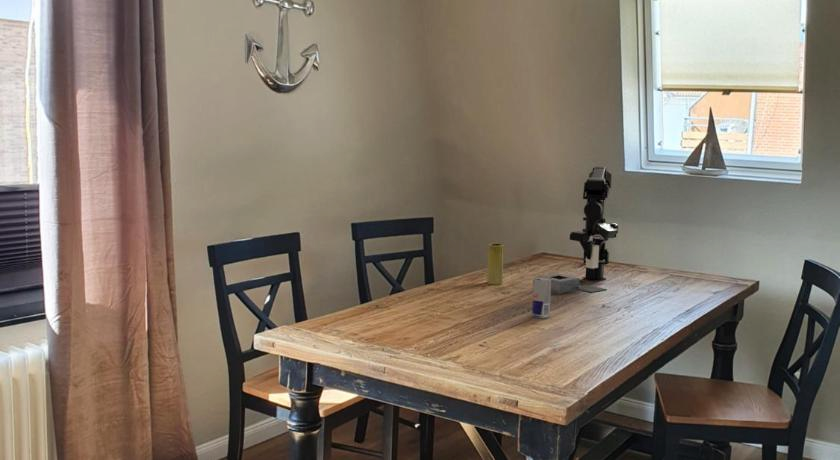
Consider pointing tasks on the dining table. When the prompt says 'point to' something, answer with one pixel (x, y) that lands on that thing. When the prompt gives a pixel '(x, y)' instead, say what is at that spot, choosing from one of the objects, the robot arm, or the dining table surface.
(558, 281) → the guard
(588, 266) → the cream rectangular prism
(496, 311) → the dining table surface
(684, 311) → the dining table surface
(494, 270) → the vase
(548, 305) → the energy drink
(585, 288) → the mat
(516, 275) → the dining table surface
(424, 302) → the dining table surface
